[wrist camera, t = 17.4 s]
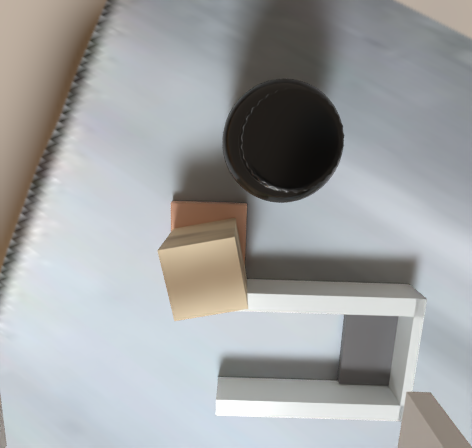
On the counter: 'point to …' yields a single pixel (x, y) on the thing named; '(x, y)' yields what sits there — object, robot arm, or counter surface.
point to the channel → (351, 355)
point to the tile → (209, 215)
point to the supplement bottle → (283, 140)
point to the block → (204, 269)
